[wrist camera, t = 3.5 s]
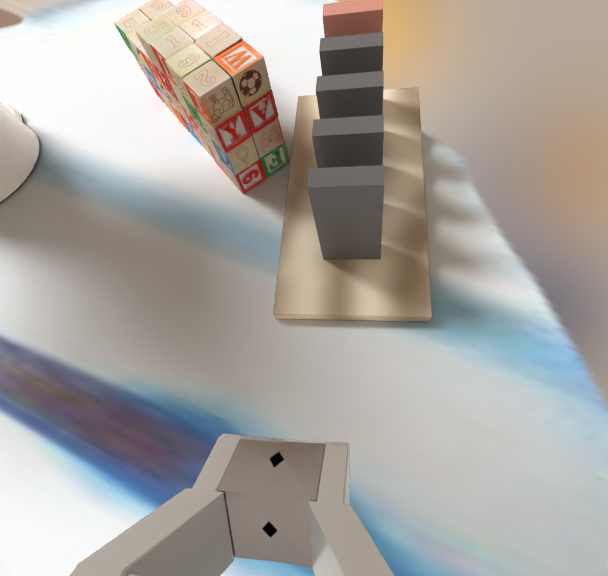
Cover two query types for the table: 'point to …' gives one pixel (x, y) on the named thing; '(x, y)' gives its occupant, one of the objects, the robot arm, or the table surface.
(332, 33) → the domino
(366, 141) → the domino
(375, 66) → the domino
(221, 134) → the stack of blocks
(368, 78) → the domino
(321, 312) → the domino board
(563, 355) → the table surface
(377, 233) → the domino
